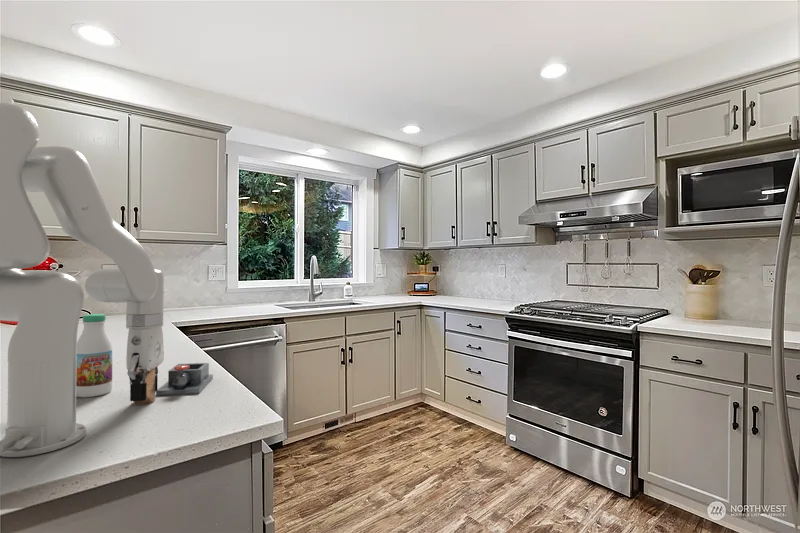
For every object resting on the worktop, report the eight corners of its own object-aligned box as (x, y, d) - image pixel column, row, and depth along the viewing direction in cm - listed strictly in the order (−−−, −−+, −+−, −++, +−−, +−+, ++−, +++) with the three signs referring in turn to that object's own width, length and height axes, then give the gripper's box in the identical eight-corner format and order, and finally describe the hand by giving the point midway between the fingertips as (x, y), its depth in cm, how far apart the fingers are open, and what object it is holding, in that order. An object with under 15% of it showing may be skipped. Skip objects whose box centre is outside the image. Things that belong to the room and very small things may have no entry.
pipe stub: (150, 404, 95) (150, 370, 95) (129, 405, 95) (130, 371, 95) (157, 398, 100) (158, 365, 100) (137, 399, 99) (138, 366, 99)
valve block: (199, 393, 104) (199, 368, 104) (156, 395, 102) (156, 370, 102) (212, 378, 118) (212, 356, 118) (175, 380, 116) (175, 357, 115)
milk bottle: (67, 395, 101) (68, 315, 101) (102, 387, 108) (102, 312, 108) (83, 400, 98) (84, 317, 98) (118, 391, 105) (119, 314, 105)
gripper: (147, 325, 89) (146, 407, 90) (174, 316, 106) (173, 384, 106) (109, 326, 88) (108, 409, 88) (142, 316, 105) (142, 386, 105)
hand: (144, 395), depth 97 cm, fingers open, 5 cm apart
